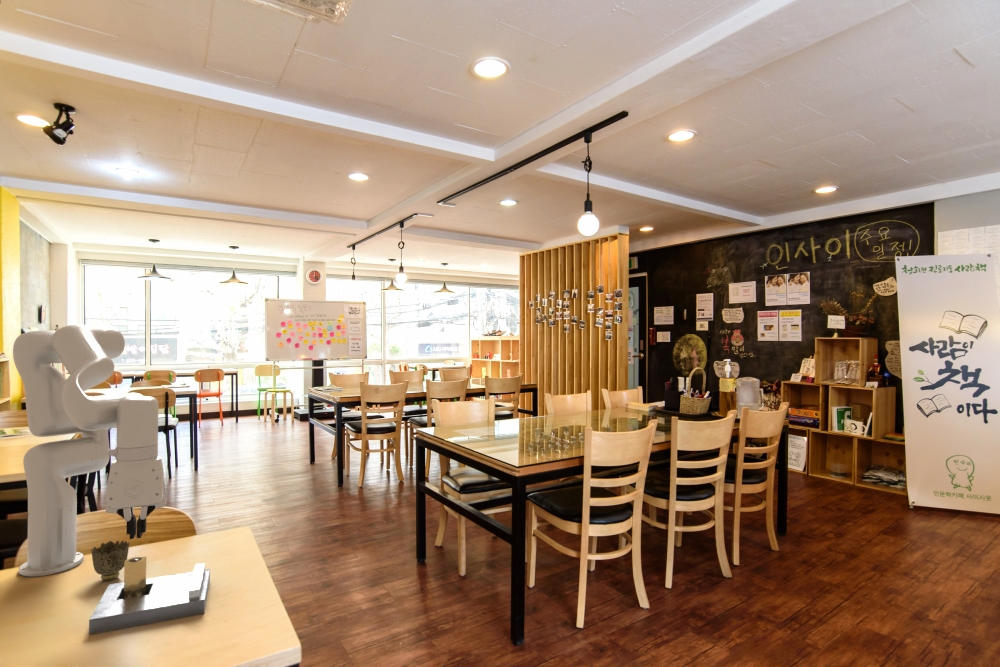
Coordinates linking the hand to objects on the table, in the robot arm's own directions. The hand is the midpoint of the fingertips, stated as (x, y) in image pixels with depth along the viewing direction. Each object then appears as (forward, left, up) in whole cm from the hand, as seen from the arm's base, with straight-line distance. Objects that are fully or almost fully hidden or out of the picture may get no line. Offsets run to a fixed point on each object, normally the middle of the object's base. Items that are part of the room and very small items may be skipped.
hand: (136, 536), depth 116 cm
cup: (-17, -8, -15) cm, 24 cm away
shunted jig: (+2, +4, -15) cm, 16 cm away
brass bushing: (0, 0, -15) cm, 15 cm away
